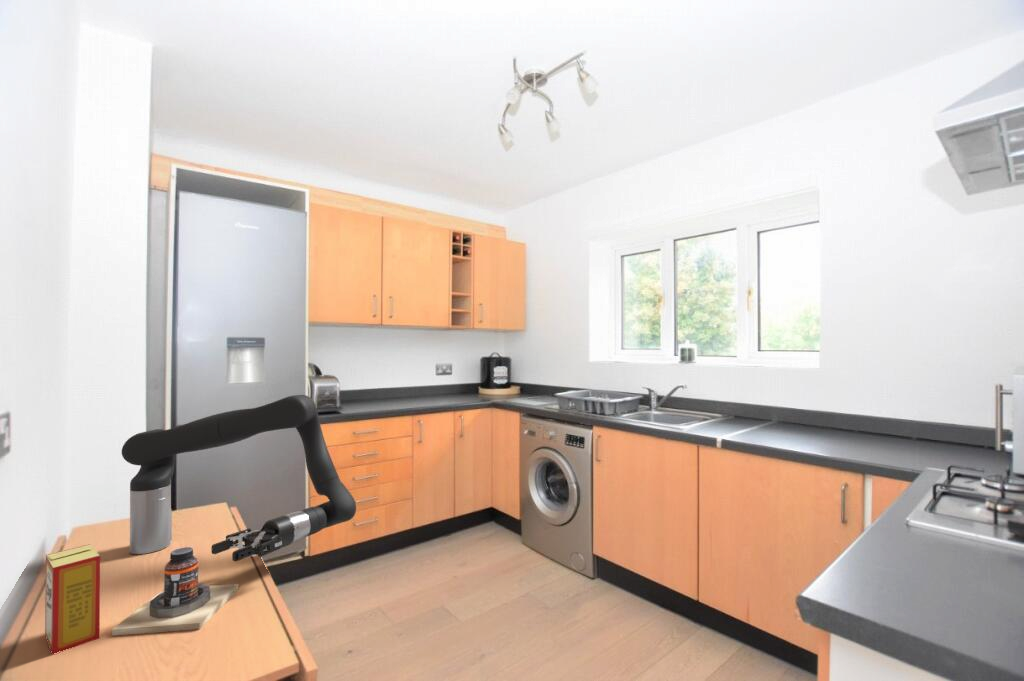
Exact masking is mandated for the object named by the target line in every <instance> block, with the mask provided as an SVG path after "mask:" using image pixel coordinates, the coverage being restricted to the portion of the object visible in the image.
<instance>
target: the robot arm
mask: <svg viewBox="0 0 1024 681" xmlns="http://www.w3.org/2000/svg"><path fill="white" fill-rule="evenodd" d="M285 429H296V430H297V432H298V435H299V436H300V439H301V441H302V445H303V450H304V457H305V464H306V470H307V473H308V476H309V477H310V480H311V483H312V485H313V487H314V490H315V492H316V494H317V495H319V496H325V497H326V498H327V499H328V501H326V502H323V503H320V504H318V505H316V506H310V507H307V508H305V509H301V510H298V511H293V512H290V513H287V514H284V515H281V516H280V515H279V516H277V517H275V518H272V519H269V520H267V521H265V522H264V524H263V526H262V528H261V529H255V530H252V528H246V529H242V530H240V531H236V532H234V533H231V534H227V535H226V536H225V540H222V541H219V542H217V543H214V544H211V554H213V555H217V554H219V553H222V552H226V551H228V550H230V549H231V550H232V549H237V550H234V551H232V554H231V555H232V556H231V558H232V561H233V562H235V563H236V562H239V561H241V560H244V559H246V558H249V557H256V556H257V557H259V558H261V557H264V556H266V555H269V554H271V553H273V552H276V551H279V550H280V549H282V548H285V547H288V546H289V545H293V544H295V543H297V542H299V541H301V540H303V539H305V538H307V537H309V536H313V535H314V534H317V533H319V532H320V531H322V530H324V529H326V528H329V527H332V526H336V525H339V524H342V523H346V522H349V521H350V520H352V519H354V517H355V515H356V512H357V505H356V501H355V498H354V497H353V495H352V493H351V492H350V491H349V490H348V488H347V487H346V486H345V484H344V483H343V481H341V479H340V477H339V475H338V474H339V473H338V471H337V469H336V467H335V465H334V461H333V460H332V457H331V454H330V452H329V448H328V446H327V444H326V441H325V437H324V434H323V430H322V426H321V423H320V417H319V413H318V408H317V406H316V403H315V401H314V399H312V397H311V396H308V395H305V394H296V395H289V396H285V397H283V398H281V399H278V400H275V401H272V402H271V403H267V404H264V405H261V406H257V407H253V408H242V409H235V410H231V411H225V412H220V413H215V414H213V415H209V416H206V417H203V418H200V419H199V418H198V419H195V420H193V421H190V422H187V423H184V424H181V425H179V426H176V427H172V428H168V429H162V428H157V429H151V430H147V431H146V430H145V431H142V432H139V433H136V434H134V435H132V436H131V437H129V438H128V439H127V440H126V441H125V442H124V443H123V446H122V448H121V456H122V458H123V459H124V461H125V462H127V463H128V464H130V465H134V466H140V468H139V470H138V472H137V473H136V474H135V475H134V477H132V478H131V480H130V483H129V553H130V554H133V555H144V554H149V553H153V552H157V551H160V550H164V549H166V548H168V547H169V546H170V545H171V542H172V541H173V540H172V537H173V536H172V535H173V534H172V533H173V532H172V530H173V526H172V525H173V523H172V522H173V520H172V518H173V517H172V515H173V512H172V508H171V504H172V503H171V500H172V499H171V496H172V495H171V487H172V486H171V483H172V482H171V481H172V477H173V475H174V473H175V462H176V455H179V454H184V453H191V452H197V451H204V450H208V449H213V448H219V447H223V446H227V445H231V444H232V445H233V444H235V443H238V442H241V441H244V440H246V439H249V438H251V437H255V436H256V435H259V434H261V433H266V432H273V431H278V430H285ZM171 540H172V541H171ZM165 547H166V548H165Z"/></svg>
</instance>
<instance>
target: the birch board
mask: <svg viewBox="0 0 1024 681" xmlns="http://www.w3.org/2000/svg"><path fill="white" fill-rule="evenodd" d="M209 586H210V600H209V601H208V602H207V603H206V604H205V605H204V606H203V607H201V608H199V609H197V610H195V611H193V612H191V613H188V614H184V615H181V616H177V617H173V618H162V619H157V618H154V617H151V616H150V601H151V600H153V599H154V598H155V597H156V596H158V595H159V594H161V593H164V589H163V590H161V591H160V592H159V593H157V594H156V595H155V596H153V597H152V598H150V599H149V600H147V602H146V603H144V604H143V605H142V606H140V607H139V608H138V609H137V610H135V611H134V612H132V613H131V614H130V615H129V616H127V617H126V618H125V619H124V620H122V621H121V622H120V623H119V624H117V625H115V627H113V628H112V629H111V636H126V635H140V634H142V635H143V634H153V633H154V634H155V633H164V632H165V633H167V632H168V631H169V632H179V631H181V630H182V631H191V630H192V631H193V630H200V629H201V628H202V627H203V626H204V625H205V624H206V623H207V622H208V621H209V620H210V619H212V617H213V616H214V615H215V614H216V613H217V612H218V611H219V610H220V609H221V608H222V607H223V606H224V605H225V604H226V603H227V601H229V600H230V598H231V597H232V596H233V595H234V594H235V593H236V592H237V591H238V590H239V583H233V584H231V583H230V584H219V585H209ZM198 597H199V595H198ZM161 606H164V604H163V605H161Z"/></svg>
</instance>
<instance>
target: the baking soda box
mask: <svg viewBox="0 0 1024 681" xmlns="http://www.w3.org/2000/svg"><path fill="white" fill-rule="evenodd" d="M100 579H101V556H100V554H99V553H98V552H97V550H96V549H95V548H94V546H93V545H91V544H86V545H81V546H76V547H73V548H69V549H65V550H61V551H57V552H53V553H48V554H45V596H44V600H45V604H44V607H45V610H44V611H45V612H44V613H45V615H44V616H45V618H44V624H45V625H44V626H45V627H44V635H46V637H47V640H48V642H47V644H48V643H49V645H48V647H49V646H50V648H51V650H50V652H51V651H52V653H51V655H52V654H54V653H57V652H59V651H62V652H64V651H63V650H65V651H67V650H66V649H68V650H70V649H73V648H75V647H78V646H79V647H80V646H81V645H85V644H86V643H90V642H92V641H94V640H97V639H100V630H101V629H100V627H101V626H100V625H101V624H100V621H101V620H100V619H101V618H100V617H101V616H100V612H101V611H100V610H101V609H100V604H101V601H100V600H101V596H100V595H101V580H100ZM46 637H45V638H46ZM47 640H46V641H47ZM72 647H73V648H72ZM50 648H49V649H50ZM69 648H70V649H69ZM59 653H60V652H59ZM57 654H58V653H57ZM54 655H55V654H54Z"/></svg>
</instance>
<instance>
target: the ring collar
mask: <svg viewBox="0 0 1024 681" xmlns="http://www.w3.org/2000/svg"><path fill="white" fill-rule="evenodd" d="M210 586H211V585H208V584H203V583H198V588H199V589H198V595H199V597H198V598H195V599H193V600H191V601H189V602H186V603H183V604H179V605H175V606H161V605H163V604H164V593H161V594H159V595H158V596H156V595H155V596H156V597H155V596H154V597H155V598H154V599H153V600H151V599H150V600H151V601H150V616H151V617H154V618H157V619H162V618H173V617H177V616H181V615H184V614H188V613H191V612H193V611H195V610H197V609H199V608H201V607H203V606H204V605H205V604H206V603H207V602H208V601H209V600H210Z"/></svg>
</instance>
